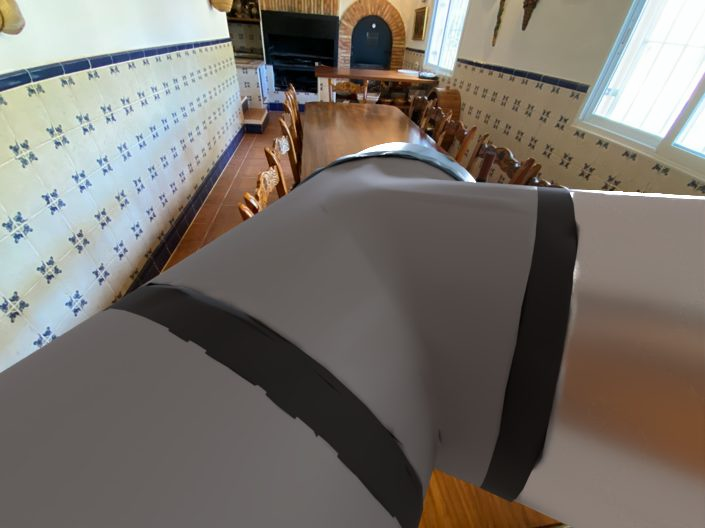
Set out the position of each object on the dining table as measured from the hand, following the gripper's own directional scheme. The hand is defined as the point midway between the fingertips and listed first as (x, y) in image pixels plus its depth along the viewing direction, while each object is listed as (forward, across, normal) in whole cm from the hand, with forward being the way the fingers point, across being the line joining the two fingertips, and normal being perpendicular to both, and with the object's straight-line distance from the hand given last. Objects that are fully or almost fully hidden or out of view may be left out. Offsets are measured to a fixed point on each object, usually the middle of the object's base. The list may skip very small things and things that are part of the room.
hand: (367, 425), depth 31 cm
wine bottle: (+65, -32, +34) cm, 80 cm away
